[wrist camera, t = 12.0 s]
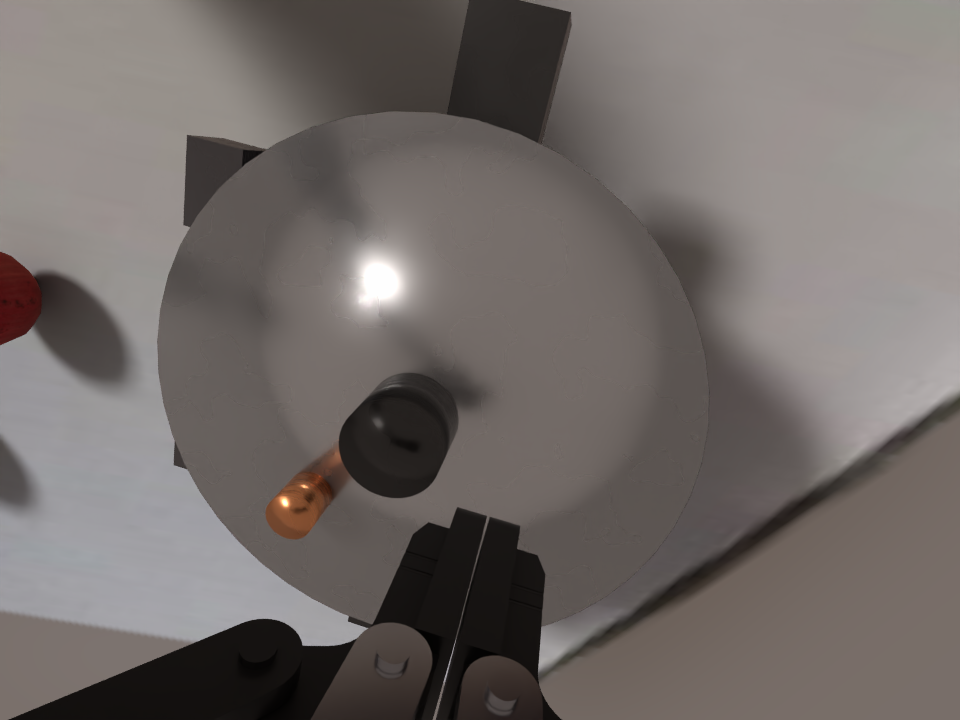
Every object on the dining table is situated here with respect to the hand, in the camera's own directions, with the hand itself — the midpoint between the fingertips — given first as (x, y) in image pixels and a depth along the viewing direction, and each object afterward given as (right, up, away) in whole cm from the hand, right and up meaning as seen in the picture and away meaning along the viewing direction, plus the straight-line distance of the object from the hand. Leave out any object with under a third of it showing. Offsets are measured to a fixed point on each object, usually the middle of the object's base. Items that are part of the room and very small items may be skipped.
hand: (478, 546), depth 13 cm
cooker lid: (-2, +3, +7) cm, 7 cm away
